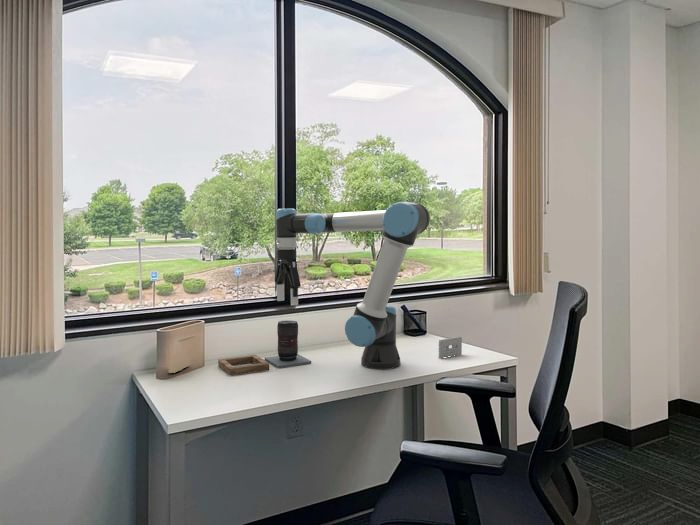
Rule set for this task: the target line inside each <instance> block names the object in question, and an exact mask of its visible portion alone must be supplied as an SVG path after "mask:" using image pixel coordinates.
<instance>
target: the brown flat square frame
mask: <svg viewBox="0 0 700 525" xmlns="http://www.w3.org/2000/svg"><path fill="white" fill-rule="evenodd" d="M217 360H218V362H217V363H218V367H219V368H220V367H221V368H220V369H221V370H222V371H224V372H225V371H226V372H227V373H226V372H225V373H226V374H227V375H229V376H230V375H232V376H237V375H238V374H239V375H245V374H252V373H258V372H266V371H270V363H268V362H267V361H265V359H263V358H261V357H260V356H258V355H257V354H249V355H242V356H237V357H236V356H235V357H228V358H221V359H217ZM239 364H240V365H239Z"/></svg>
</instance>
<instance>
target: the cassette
mask: <svg viewBox="0 0 700 525" xmlns="http://www.w3.org/2000/svg"><path fill="white" fill-rule="evenodd" d="M462 342H463V337H462V336H455V337H449V338H448V337H447V338H442V339H439V340H438V359H439V358H442V357H448V356H454V355H459V354H461V355H462V354H463V353H462V352H463V351H462V350H463V349H462V347H463V345H462V344H463V343H462ZM459 356H460V355H459ZM442 359H443V358H442Z"/></svg>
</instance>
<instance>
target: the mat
mask: <svg viewBox="0 0 700 525" xmlns="http://www.w3.org/2000/svg"><path fill="white" fill-rule="evenodd" d="M264 360H265V361H266V362H268V363H269V365H272V366H273V367H275V368H276V369H282V368H283V369H284V368H289V367H297V366H304V365H310V364H311V365H312V360H310V359H308V358H306V357H304V356H303V355H301V354H299V353H298V354H297V357H296V360H294V361H280V360H279V356H278V355H275V356H267V357H264Z"/></svg>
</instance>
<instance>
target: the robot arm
mask: <svg viewBox="0 0 700 525" xmlns="http://www.w3.org/2000/svg"><path fill="white" fill-rule="evenodd" d="M296 210H297V209H295V208H278V209H277V210H276V216H275V217H276V219H275V223H276V240H275V242H276V248H277V249H276V258H277V259H278V260H277V261H276V262H277V263H276V264H277V265H276V270H275V277H274V283H276V294H277V295H276V298H277V299H276V300H277V302H283V301H285V284H286V283H285V279H286V275H287V277H288V280H289V284H290V287H289V289H290V306H292V307H293V306H299V288H301V286H302V285H301V280H300V274H299V271H298V262H297V261H294V259H297V249H296V248H297V234H311V235H317V234H325V233H326V234H327V233H342V232H343V233H345V232H374V231H376V232H377V231H382V233H381V236H382V238H383V242H382V245H381V249H380V251H379V254H378V257H377V260H376V262H375V265H374V269H373V271H372V274H371V277H370V278H369V281H368V282H369V283H368V285H367V288H366V291H365V294H364V297H363V300H362V301H361V302H359V303H357V304H356V307H355V310H354V312H353V315H351V316H350V317H349V318H348V319H347V320H346V322H345V325H344V334H345V336H346V338H347V340H348V341H349V342H350V343H351V344H353V345H354V346H356V347H359V348H363V352H362V356H361V358H360V359H361V361H360V364H361V365H362V367H365V368H367V369H368V368H369V369H374V370H388V369H390V368H391V369H396V368H398V367H400V366H401V357H400V354H399V351H398V347H397V309H396V307H395V306H393V305H388V302H389V300H390V297H391V294H392V291H393V290H394V286H395V284H396V281H397V278H398V275H399V273H400V269H401V267H402V265H403V261H404V260H405V256H406V253H407V250H408V249H409V248H411V247H413V246H414V245H415V242H416V239H417V236H418V235H420V234H422V233H424V232H425V231H426V230H427V229H428V227H429V226H430V222H431V215H430V212H429V210H428V209H427V207H426V206H424V205H423V204H421V203H419V202H410V201H409V202H408V201H399V202H395V203H392V204H391V205H389V206H388V207H387V208H386V209H384V210H382V209H381V210H367V211H350V212H349V211H347V212H345V211H344V212H335V213H334V212H330V213H329V212H328V213H327V212H326V213H317V212H315V213H314V212H310V213H297V211H296ZM399 365H400V366H399Z"/></svg>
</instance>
